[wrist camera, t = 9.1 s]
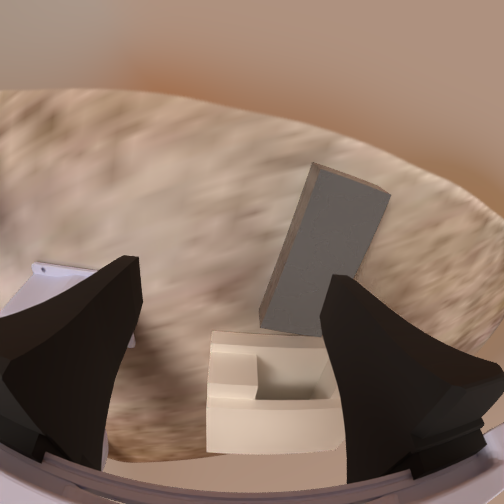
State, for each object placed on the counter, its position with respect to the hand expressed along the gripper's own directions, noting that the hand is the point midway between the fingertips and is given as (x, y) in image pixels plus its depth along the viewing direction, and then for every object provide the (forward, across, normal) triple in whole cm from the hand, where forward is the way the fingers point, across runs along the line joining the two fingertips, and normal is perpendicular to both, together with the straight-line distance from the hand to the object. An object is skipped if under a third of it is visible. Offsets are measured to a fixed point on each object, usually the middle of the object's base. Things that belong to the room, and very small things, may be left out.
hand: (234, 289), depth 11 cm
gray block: (+10, -6, +3) cm, 12 cm away
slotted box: (+9, -6, +17) cm, 20 cm away
